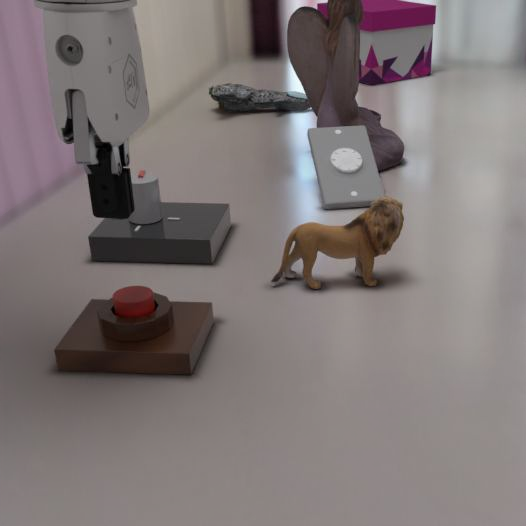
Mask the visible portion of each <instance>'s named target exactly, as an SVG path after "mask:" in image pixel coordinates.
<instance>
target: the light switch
mask: <svg viewBox="0 0 526 526" xmlns="http://www.w3.org/2000/svg"><path fill="white" fill-rule="evenodd" d="M306 136H307V140H308V144H309V148H310V154H311V158H312V162H313V167H314V170H315V171H314V172H315V176H316V180H317V183H318V188H319V192H320V196H321V197H320V198H321V201H322V205H323V209H324V210H336V209H350V208H365V207H371V202H373V201H375V200H376V199H380V198H381V197H386V194H385V190H384V188H383V187H384V186H383V184H382V181H381V177H380V173H379V171H378V169H377V166H376V162H375V159H374V155H373V152H372V148H371V145H370V141H369V137H368V134H367V130H366V127H365V126H364V125H363V126H344V127H325V128H317V127H309V128H308V129H307V131H306ZM330 158H331V159H330Z"/></svg>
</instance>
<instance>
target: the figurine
mask: <svg viewBox="0 0 526 526" xmlns="http://www.w3.org/2000/svg"><path fill="white" fill-rule="evenodd" d="M326 3H327V15H328V19H326V18H325V17H324V15H323V14H322V13H321V12H320V11H319V10H317V8H315V7H312V6H306V5H304V6H300V7H298V8H296V10H294V12H292V14H291V15H290V17H289V19H288V22H287V29H286V47H287V54H288V58H289V62H290V64H291V66H292V69H293V71H294V73H295V75H296V77H297V78H298V81H299V82H300V84H301V87H302V89H303V91H304V94H306V97H307V99H308V102H309V104H310V106H311V107H310V108H311V110H312V112H313V114H314V115H315V116H316V128H325V127H344V126H363V125H364V126H365V127H366V130H367V134H368V137H369V141H370V145H371V148H372V152H373V155H374V159H375V162H376V166H377V169H378V172H381V171H384V170H386V169H391V168H393V167H395V166H398V165H399V164H400V163H401V162H402V160H403V157H404V154H405V144H404V141H402V139H401V137H400V136H398V134H396V132H395V131H393V130H391V129H389V128H386V127H383V126H382V124H381V120H382V114H380V113H379V112H377V111H375V110H373V109H369V108H368V107H364V106H359V103H358V102H357V100H356V96H357V93H358V92H359V87H360V82H359V59H360V29H359V25H360V24H361V23H362V20H363V17H364V13H363V5H362V1H361V0H327V1H326ZM330 159H331V158H330Z"/></svg>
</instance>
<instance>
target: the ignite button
mask: <svg viewBox="0 0 526 526" xmlns="http://www.w3.org/2000/svg"><path fill="white" fill-rule="evenodd" d="M153 292H154V291H153V289H151V288H150V287H149V286H144V285H130V286H125V287H121V288H119V289H117V290H116V291H115V292H113V294H112V297H111V298H113V304H114V310H115V314H116V316H119V317H122V318H137V317H142V316H146V315H149V314H151V313H152V312H154V311H155V303H154V295H153Z"/></svg>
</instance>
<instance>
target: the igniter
mask: <svg viewBox="0 0 526 526" xmlns="http://www.w3.org/2000/svg"><path fill="white" fill-rule="evenodd" d="M153 295H154V303H155V311H154V312H152V313H151V314H149V315H146V316H142V317H137V318H122V317H119V316H116V314H115V310H114V304H113V297H110V298H109V299H106V298H105V299H103V298H102V299H101V298H99V299H98V298H92V299H90V301H89V302H88V303H87V304H86V306H85V307H84V308H83V309H82V311H81V313H80V314H79V315H78V316H77V318H76V319H75V320H74V322H73V323H72V324H71V326H70V327H69V328H68V330H67V331H66V332H65V334H64V335H63V337H62V338H61V339H60V340H59V342H58V343H57V345H56V346H55V347H54V348H53V351H54V356H55V361H56V365H57V370H58V371H60V372H61V371H64V372H66V371H67V372H90V373H91V372H94V373H96V372H97V373H123V374H124V373H126V374H127V373H128V374H156V375H158V374H159V375H184V376H185V375H186V376H187V375H189V376H190V375H192V374H193V372H194V369H195V367H196V365H197V362H198V361H199V357H200V355H201V353H202V350H203V349H204V346H205V344H206V341H207V340H208V336H209V334H210V332H211V329H212V327H213V325H214V323H215V320H214V310H213V309H214V308H213V302H211V301H210V302H209V301H208V302H207V301H177V300H176V301H171V300H170V299H169V298H168V297H167V296H166V295H164V294H160V293H157V292H155V291H153Z"/></svg>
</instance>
